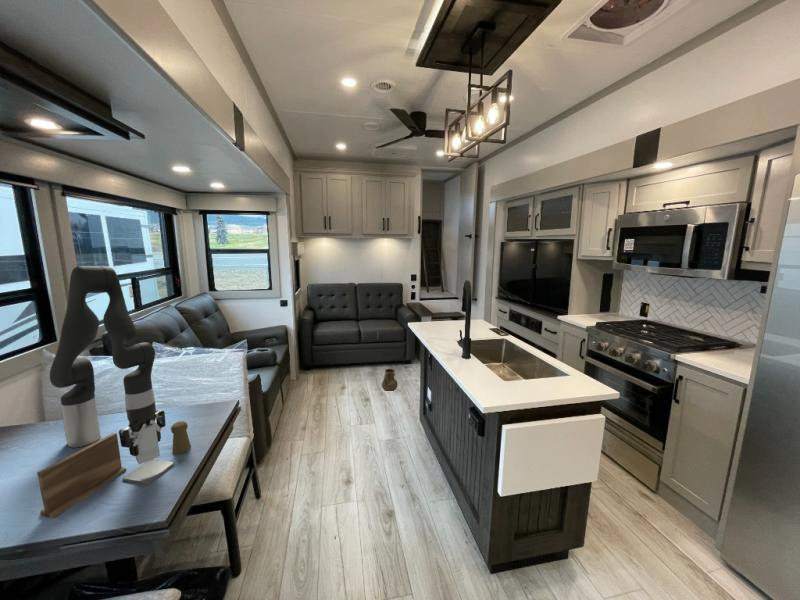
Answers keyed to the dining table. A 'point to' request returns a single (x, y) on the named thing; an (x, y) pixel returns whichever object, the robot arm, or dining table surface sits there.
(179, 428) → the olive stepped cylinder
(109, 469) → the walnut screen
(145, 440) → the skincare box
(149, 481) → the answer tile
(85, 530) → the dining table surface
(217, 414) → the dining table surface
